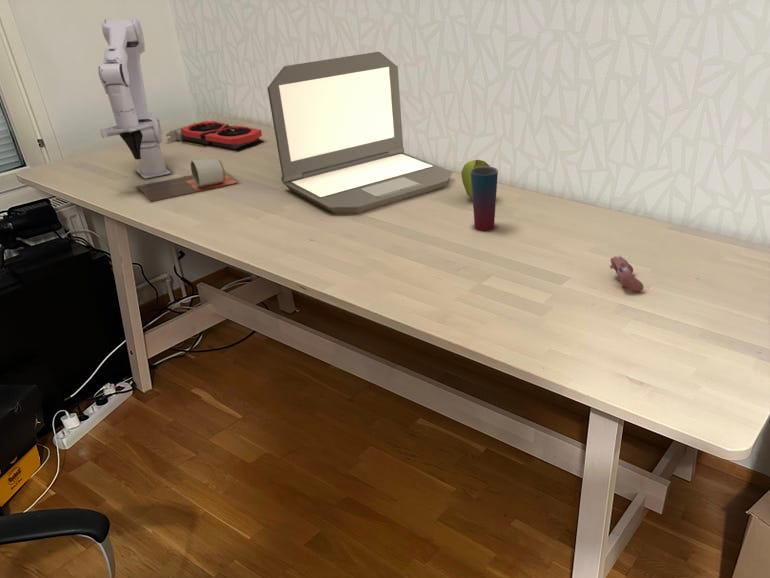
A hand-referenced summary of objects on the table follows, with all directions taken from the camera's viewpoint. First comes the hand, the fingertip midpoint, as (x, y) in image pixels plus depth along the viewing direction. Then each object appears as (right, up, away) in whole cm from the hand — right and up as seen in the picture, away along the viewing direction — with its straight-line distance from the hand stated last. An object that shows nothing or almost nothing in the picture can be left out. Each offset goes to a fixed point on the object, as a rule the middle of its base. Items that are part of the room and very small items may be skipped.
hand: (137, 158), depth 199 cm
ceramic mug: (+17, -5, +9) cm, 20 cm away
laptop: (+67, -7, +6) cm, 68 cm away
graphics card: (+5, +19, +46) cm, 50 cm away
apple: (+98, -13, -3) cm, 99 cm away
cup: (+100, -24, -20) cm, 105 cm away
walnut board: (+11, -6, +8) cm, 15 cm away
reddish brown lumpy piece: (+131, -41, -46) cm, 145 cm away
